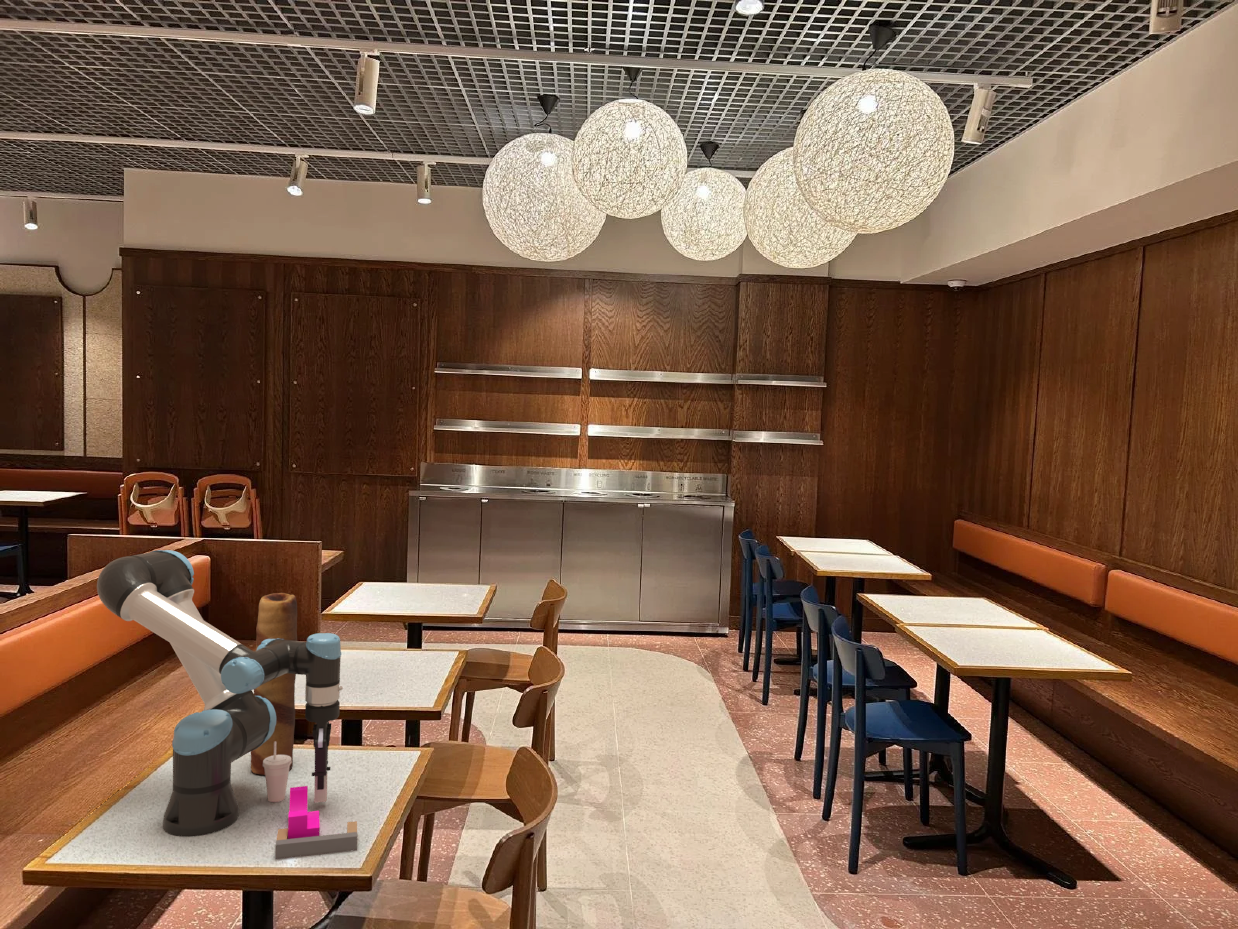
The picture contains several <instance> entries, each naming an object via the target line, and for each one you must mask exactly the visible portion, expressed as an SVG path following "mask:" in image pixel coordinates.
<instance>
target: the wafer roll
mask: <svg viewBox="0 0 1238 929" xmlns="http://www.w3.org/2000/svg"><path fill="white" fill-rule="evenodd" d="M255 632H256V639H255V642H256V643H255V644H256V646H255V647H256V649H257V648H258V646H259V645H261V642H262V641H264V640H266V639H277V638H280V639H284V640H293V641H298V633H297V632H298V602H297V597H296V595H294V594H289V593H285V592H279V593H278V592H277V593H276V592H275V593H270V594H267V595H263V596H262V597H261V598H260V600H259V603H258V616H257V624H256V630H255ZM296 675H297V674H289V673H288V674H284V675H282V676H279V677H277V678H275V679H273V680H271V681H268V682H266V683H264V684H262V685H260V686H259V687H257V688H256V689H254V690H253V693H254V695H255V696H261V697H262V698H266V699H267V700H269V701H270V703H271V704H272V705H273V707H274V710H275V713H276V725H275V730H274V732H273V734H272V736H271V737H270V738H269V739H268V740H267V741H266V742H265V743H263V744H262V745H261V746H260V747H258V748H257V749H255V750H253V751H251V752H250V769H251V772H252V773H253V774H255V775H263V776H265V769H264V767H263V760H264V759H265V758H267V757H270V756H273V755H274V742H275V741H276V755H288V756H290V757H291V761H292V763H291V764H290V767H289V771H290V770H291V769H292V768H293V765H294V741H295V740H294V739H295V738H294V737H295V736H294V735H295V726H296V705H295V704H296V703H295V701H296V700H295V698H296V696H295V692H296V691H295V690H296V687H295V686H296V685H295V684H296V678H297V676H296Z"/></svg>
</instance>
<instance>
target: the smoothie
mask: <svg viewBox="0 0 1238 929" xmlns="http://www.w3.org/2000/svg"><path fill="white" fill-rule="evenodd" d="M291 763H292V761H291V757H290V756H288V755H276V741H275V742H274V755H273V756H270V757H267V758H265V759H264V760H263V767H264V769H265V775H264V778H265V787H266V794H267V801H269V803H279V802H282V801H284V800H285V798H286V793H287V786H288V780H289V772H290V770H289V767H290V764H291Z"/></svg>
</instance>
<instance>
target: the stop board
mask: <svg viewBox="0 0 1238 929" xmlns="http://www.w3.org/2000/svg"><path fill="white" fill-rule="evenodd" d="M346 827H347V828H346V832H343V833H335V834H334V833H333V834H326V835H319V836H313V837H304V838H294V839H288V827H284V828H278V829H277V835H276V839H275V840H276V841H275V851H274V852H275V854H274V855H275V856H274V857H275V860H282V859H291V858H292V859H293V858H298V857H308V856H316V855H326V854H327V855H328V854H335V853H342V852H351V850H353V851H357V850H358V821H348V822H347V823H346Z"/></svg>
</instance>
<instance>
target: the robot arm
mask: <svg viewBox="0 0 1238 929" xmlns="http://www.w3.org/2000/svg"><path fill="white" fill-rule="evenodd" d="M194 571H195V570H194V568H193V565H192V563H191V561H190V560H189V559H188V558H187V557H186V556H185V555H184V554H182V553H181V552H178V551H175V550H173V549H171V550H170V549H165V550H162V549H161V550H160V549H158V550H152V551H150V552H144V553H139V554H134V555H129V556H122V557H119V558H116V559H114V560H112V561H110V562H109V563H108V564H107V565H105V567H104V568H103V569H102V570H101V572H100V573H99V575H98V577H97V582H96V590H97V595H98V598H99V599H100V601H101V603H102V604H103V605H104V606H105V607H106V609H107V610H109V611H110V612H111V613H112V614H114V615H116V616H117V617H118V618H120V619H122V620H123V621H126V622H132V621H134V622H136V623H138V624H139V625H141V626H142V627H144V628H145V629H147V630H149V631H150V632H152V633H154V634H156V636H159V637H160V638H162V639H164V640H165V641H167V642H169V644H170V645H171V647H172V649H173V651H174V652H175V655H176V656H177V658H178V659H179V661H180V663H181V665H182V667H183V668H184V670H185V672H186V674H187V675H188V677H189V679H190V681H191V683H192V685H193V686H194V687H195V689H196V691H197V693H198V695H199V696H200V699H201V700H202V701H203V704H204V707H203V710H202V711H200V712H198V711H197V712H196V711H195V712H194V713H191V714H189V715H186V716H185V717H183V718H181V720H179V721H178V722H177V724H176V725H175V727H174V730H173V738H172V744H171V745H172V791H171V795H170V797H169V800H168V803H167V805H166V808H165V812H164V814H163V820H162V822H163V823H162V828H163V831H164V832H165V833H167V834H168V835H171V836H175V837H183V838H186V837H187V838H188V837H189V838H190V837H200V836H206V835H210V834H214V833H217V832H220V831H223V830H225V829H227V828H228V827H230V826H232V825H234V824H235V823H236V821H237V820H238V818H239V812H240V811H239V803H238V799H237V798H236V795H235V790H233V786H232V784H231V782H232V780H231V779H232V778H231V777H232V776H231V775H232V774H231V773H232V772H231V771H232V769H231V768H232V763H233V762H235V761H237V760H238V759H241V758H242V757H244V756H246V755H247V754H249V753H251V751H253V750H255V749H257V748H258V747H260V746H261V745H262V744H263V743H265V742H266V741H267V740H268V739H269V738H270V737H271V736H272V734H273V732H274V730H275V725H276V713H275V710H274V707H273V705H272V704H271V703H270V701H269V700H267V699H266V698H262V697H261V696H255V695H254V689H256V688H257V687H259V686H260V685H262V684H264V683H266V682H268V681H271V680H273V679H275V678H277V677H279V676H282V675H284V674H288V673H289V674H296V675H301V676H302V675H303V676H305V697H304V698H305V702H306V703H305V706H304V707H305V710H304V711H305V712H304V714H305V715H304V717H305V720H306V721H308V722H311V723H315V724H313V727H312V737H313V744H312V745H313V748H314V771H313V772H311V777H314V788H313V789H314V793H313V794H314V795H313V796H314V798H313V799H314V800H313V803H325V802H327V800H328V771H331V766H328V764H329V761H328V758H329V757H328V756H329V746H330V741H331V732H332V721H335V720H337V719H338V718H339V716H340V701H339V699H340V691H343V689H344V688H343V686H342V685H340V683H341V657H342V649H341V648H342V647H341V638H340V636H339V635H338V634H335V633H331V632H330V633H329V632H325V633H323V632H319V633H317V632H316V633H314V634H311V635H309V636H308V637H307V638H306V641H303V640H302V641H301V640H300V641H299V640H297V641H293V640H284V639H280V638H277V639H266V640H264V641H262V642H261V645H259V646H258V648H257V647H256V650H252V649H250V648H249V647H247V646H246V645H244V644H242V643H240V642H239V641H238V640H236V639H234V638H233V637H230V635H228V634H226V633H224V632H223V631H221V630H219V629H218V628H216V627H215V626H213V625H212V624H210V623H208V622H207V621H206V620H204V618H203V617H202V615H201V614H200V612H199V610H198V609H197V606H196V605H195V603H194V601H193V597H194V594H195V589H194V587H193V583H194V579H195V578H194V575H195V572H194ZM330 722H331V723H330Z"/></svg>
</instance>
